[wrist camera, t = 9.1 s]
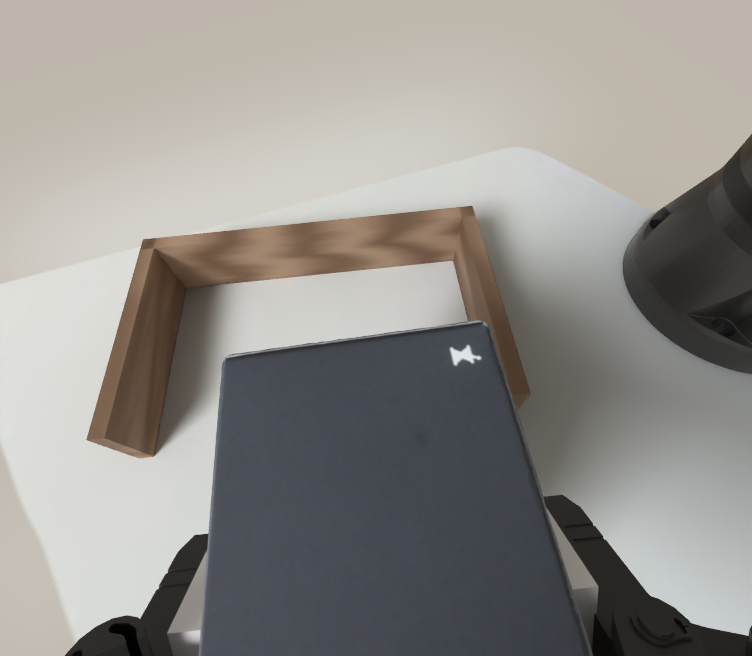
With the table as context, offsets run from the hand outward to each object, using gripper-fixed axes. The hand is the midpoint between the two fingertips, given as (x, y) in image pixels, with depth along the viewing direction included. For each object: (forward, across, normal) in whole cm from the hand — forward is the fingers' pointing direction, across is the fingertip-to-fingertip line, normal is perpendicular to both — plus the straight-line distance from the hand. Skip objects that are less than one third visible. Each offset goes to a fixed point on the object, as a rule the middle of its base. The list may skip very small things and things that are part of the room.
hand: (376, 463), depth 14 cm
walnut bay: (+16, -4, -1) cm, 16 cm away
